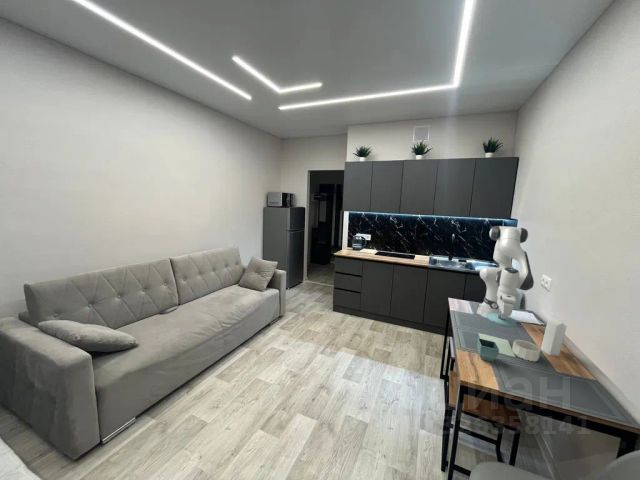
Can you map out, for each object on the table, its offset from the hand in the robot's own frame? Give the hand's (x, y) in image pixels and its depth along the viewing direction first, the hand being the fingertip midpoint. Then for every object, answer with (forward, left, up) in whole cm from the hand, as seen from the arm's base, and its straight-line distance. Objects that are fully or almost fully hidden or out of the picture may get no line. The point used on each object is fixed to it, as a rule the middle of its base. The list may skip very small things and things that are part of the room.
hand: (501, 316), depth 155 cm
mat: (0, 0, -19) cm, 19 cm away
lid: (0, 0, -3) cm, 2 cm away
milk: (-9, +29, -19) cm, 36 cm away
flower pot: (+20, -8, -19) cm, 29 cm away
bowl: (+3, +14, -19) cm, 24 cm away
